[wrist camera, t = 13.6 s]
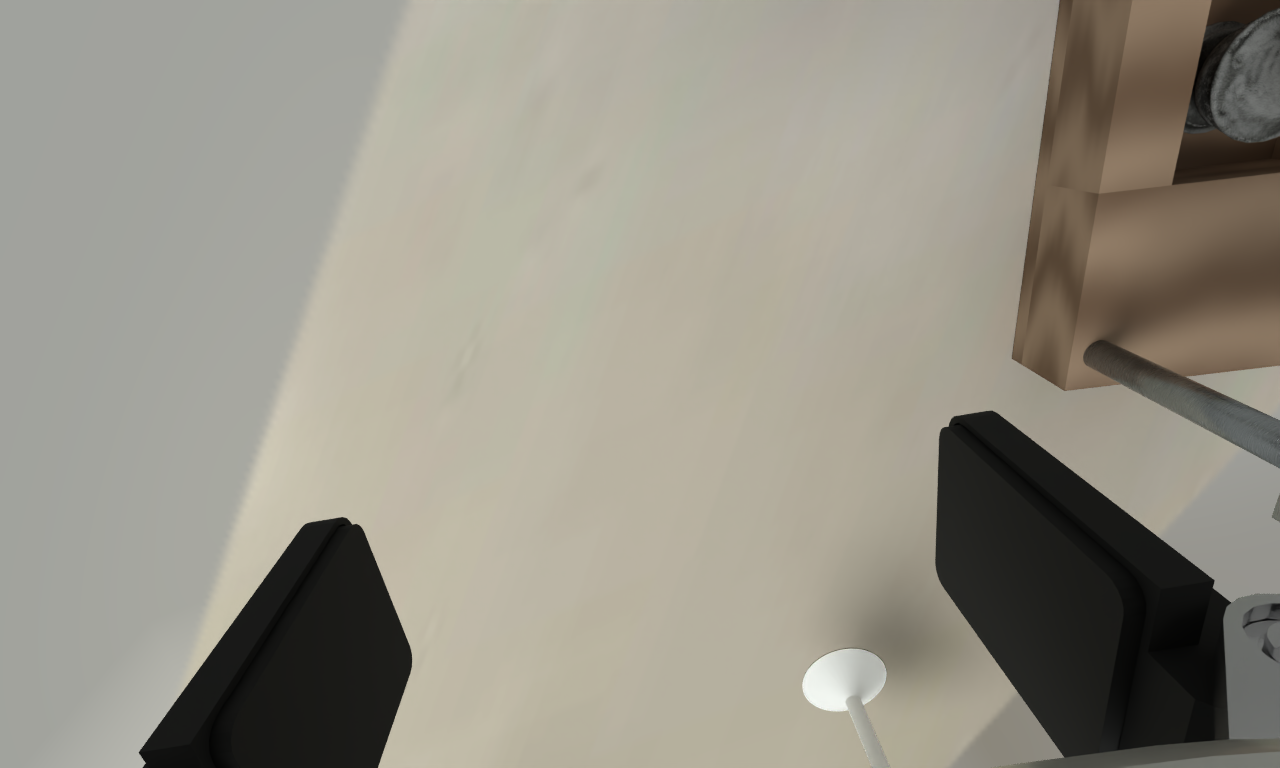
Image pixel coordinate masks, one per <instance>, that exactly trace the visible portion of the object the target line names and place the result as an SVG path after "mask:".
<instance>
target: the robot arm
mask: <svg viewBox="0 0 1280 768" xmlns="http://www.w3.org/2000/svg"><path fill="white" fill-rule="evenodd" d="M935 563H936V570H937V574H938V577H939V580H940V582H941V584H942V586H943V587H944V589H945V590H946V592H947V593H948V595H949V596H950V597H951V599H952V600H953V602H954V603H955V604H956V606H957V607H958V609H959V610H960V611H961V613H962V614H963V616H964V617H965V618H966V620H967V621H968V623H969V624H970V625H971V627H972V628H973V630H974V631H975V632H976V634H977V635H978V637H979V638H980V639H981V641H982V642H983V644H984V645H985V647H986V648H987V649H988V651H989V652H990V654H991V655H992V656H993V658H994V659H995V661H996V662H997V663H998V665H999V666H1000V668H1001V669H1002V670H1003V672H1004V673H1005V675H1006V676H1007V677H1008V679H1009V680H1010V682H1011V683H1012V684H1013V686H1014V687H1015V689H1016V690H1017V691H1018V693H1019V694H1020V696H1021V697H1022V698H1023V700H1024V701H1025V702H1026V704H1027V705H1028V707H1029V708H1030V710H1031V711H1032V712H1033V714H1034V715H1035V717H1036V718H1037V719H1038V721H1039V722H1040V724H1041V725H1042V727H1043V728H1044V729H1045V731H1046V732H1047V733H1048V735H1049V736H1050V738H1051V739H1052V741H1053V742H1054V743H1055V745H1056V746H1057V748H1058V749H1059V750H1060V752H1061V753H1062V755H1063V756H1064V757H1065V758H1059V759H1051V760H1043V761H1036V762H1028V763H1020V764H1013V765H1007V766H1000V767H993V768H1280V594H1254V595H1250V596H1245V597H1241V598H1238V599H1236V600H1235V601H1234V602H1232V603H1231V602H1230V601H1228V600H1227V599H1226V598H1224V597H1223V596H1222V595H1221V594H1219V593H1218V592H1217V591H1216V590H1214V589H1213V585H1214V580H1213V579H1212V578H1211V577H1209V576H1208V575H1207V574H1206V573H1204V572H1203V571H1202V570H1200V569H1199V568H1198V567H1196V566H1195V565H1194V564H1193V563H1191V562H1190V561H1188V560H1187V559H1186V558H1185V557H1183V556H1182V555H1181V554H1180V553H1178V552H1177V551H1176V550H1174V549H1173V548H1172V547H1170V546H1169V545H1168V544H1167V543H1165V542H1164V541H1163V540H1161V539H1160V538H1159V537H1157V536H1156V535H1155V534H1154V533H1152V532H1151V531H1150V530H1148V529H1147V528H1146V527H1144V526H1143V525H1142V524H1141V523H1139V522H1138V521H1137V520H1135V519H1134V518H1133V517H1131V516H1130V515H1129V514H1128V513H1126V512H1125V511H1124V510H1122V509H1121V508H1120V507H1118V506H1117V505H1116V504H1115V503H1113V502H1112V501H1111V500H1109V499H1108V498H1107V497H1105V496H1104V495H1103V494H1102V493H1100V492H1099V491H1098V490H1096V489H1095V488H1094V487H1092V486H1091V485H1090V484H1089V483H1087V482H1086V481H1085V480H1083V479H1082V478H1081V477H1079V476H1078V475H1077V474H1076V473H1074V472H1073V471H1072V470H1070V469H1069V468H1068V467H1066V466H1065V465H1064V464H1063V463H1061V462H1060V461H1059V460H1057V459H1056V458H1055V457H1053V456H1052V455H1051V454H1050V453H1048V452H1047V451H1046V450H1044V449H1043V448H1042V447H1041V446H1039V445H1038V444H1037V443H1035V442H1034V441H1033V440H1031V439H1030V438H1029V437H1028V436H1026V435H1025V434H1024V433H1022V432H1021V431H1020V430H1018V429H1017V428H1016V427H1015V426H1013V425H1012V424H1011V423H1009V422H1008V421H1007V420H1005V419H1004V418H1003V417H1002V416H1000V415H999V414H998V413H996V412H994V411H984V412H978V413H972V414H966V415H960V416H954V417H953V418H952V419H951V421H950V423H949V427H944V428H942V429H941V432H940V436H939V463H938V495H937V527H936V559H935ZM411 668H412V653H411V649H410V645H409V643H408V640H407V638H406V635H405V633H404V630H403V628H402V625H401V623H400V620H399V618H398V615H397V613H396V611H395V608H394V606H393V603H392V601H391V598H390V596H389V593H388V591H387V588H386V586H385V583H384V581H383V578H382V576H381V573H380V571H379V568H378V566H377V563H376V561H375V558H374V556H373V553H372V551H371V548H370V546H369V543H368V541H367V538H366V536H365V533H364V531H363V529H362V528H361V527H360V526H359V525H357V524H353V525H352V524H351V522H350V521H349V520H348V519H347V518H344V517H341V518H335V519H329V520H322V521H316V522H310V523H307V524H305V525H304V526H303V527H302V528H301V529H300V531H299V532H298V533H297V535H296V536H295V538H294V539H293V540H292V542H291V543H290V544H289V546H288V547H287V549H286V550H285V551H284V553H283V554H282V556H281V557H280V558H279V560H278V561H277V562H276V564H275V565H274V567H273V568H272V569H271V571H270V572H269V573H268V575H267V576H266V578H265V579H264V580H263V582H262V583H261V584H260V586H259V587H258V589H257V590H256V591H255V593H254V594H253V596H252V597H251V598H250V600H249V601H248V602H247V604H246V605H245V607H244V608H243V609H242V611H241V612H240V613H239V615H238V616H237V618H236V619H235V620H234V622H233V623H232V624H231V626H230V627H229V629H228V630H227V631H226V633H225V634H224V636H223V637H222V638H221V640H220V641H219V642H218V644H217V645H216V647H215V648H214V649H213V651H212V652H211V653H210V655H209V656H208V658H207V659H206V660H205V662H204V663H203V665H202V666H201V667H200V669H199V670H198V671H197V673H196V674H195V676H194V677H193V678H192V680H191V681H190V682H189V684H188V685H187V687H186V688H185V689H184V691H183V692H182V693H181V695H180V696H179V698H178V699H177V700H176V702H175V703H174V705H173V706H172V707H171V709H170V710H169V711H168V713H167V714H166V716H165V717H164V718H163V720H162V721H161V723H160V724H159V725H158V727H157V728H156V729H155V731H154V732H153V734H152V735H151V736H150V738H149V739H148V740H147V742H146V743H145V745H144V746H143V747H142V749H141V750H140V752H139V754H140V755H141V756H142V758H143V760H144V761H145V762H146V764H145V765H144V767H143V768H378V765H379V763H380V760H381V757H382V754H383V751H384V748H385V745H386V742H387V739H388V736H389V734H390V731H391V728H392V725H393V722H394V719H395V716H396V713H397V710H398V707H399V704H400V702H401V699H402V696H403V693H404V690H405V687H406V684H407V681H408V678H409V675H410V672H411Z"/></svg>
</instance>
